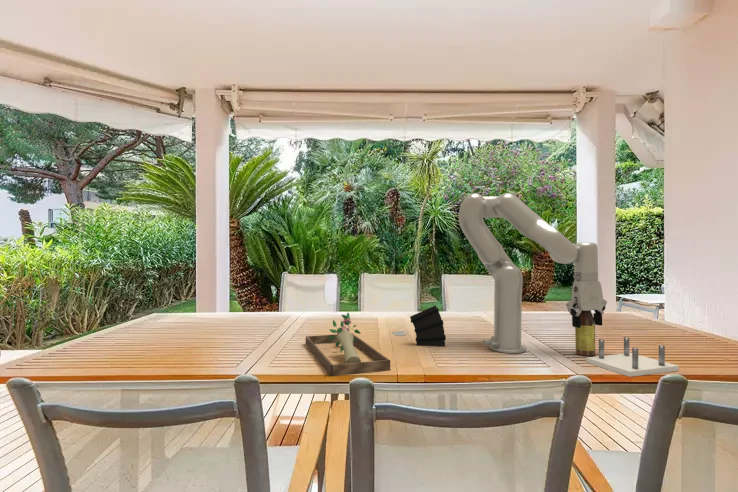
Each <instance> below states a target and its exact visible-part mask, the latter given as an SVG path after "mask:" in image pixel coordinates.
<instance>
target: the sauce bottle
mask: <svg viewBox="0 0 738 492" xmlns="http://www.w3.org/2000/svg"><path fill="white" fill-rule="evenodd" d="M579 316H580V317H581V327H580V328H577V327H574V328H575V329H574V330H575V332H574V334H575V337H574V338H575V352H576V354H577V355H579V356H584V357H594V356H596V355H595V354H596V325H595V321H594V317H593V314H592V310H590V311H583V310H582V311H581V313H580V315H579Z"/></svg>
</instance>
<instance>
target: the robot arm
mask: <svg viewBox="0 0 738 492" xmlns="http://www.w3.org/2000/svg"><path fill="white" fill-rule="evenodd" d="M486 218H487V219H488V218H489V219H492V218H493V219H494V218H495V219H496V218H497V219H499V218H504V219H505V220H506V221H507V222H508V223H509V224H511V226H512V227H514V228H515V229H516V230H517V231H518V232H520V233H521V234H522V235H523V236H524V237H526V238H528V239H529V240H531V241H534V242H535V243H537V244H538V245H539V246H540V247H542V249H544V250H545V251H546V252H548V254H549V256H550V258H551V260H552V261H553V262H555V263H558V264H562V265H569V264H573V267H574V268H573V271H574V274H573V276H572V277H573V279H574V281H573V284H572V290H571V291H572V292H571V300H569V301H568V302H567V303H565V305H566V308H567V311H568V313H569V315H570V316H571V326H572V327H574V328H575V327H577V328H580V327H581V317H580V316H579V315H580V313H581V311H582V310H583V311H590V310H591V311H593V314H592V315H593V318H594V321H595V326H603V314H604V312H605V310H606V306H607V303H608V301H607V300H606V299H604V294H603V288H602V283H601V281H599V251H598V250H599V248H598V245H597V243H595V242H578V243H573V242H572V241H571V240H569V239H568V238H567V237H566V236H565V235H564V234H562V233H561V232H560V231H559V230H557V229H556V228H555V227H554V226H552V225H550V223H548V222H547V221H546V220H545V219H544V218H542V217H541V216H539V215H538V213H536V212H535V211H533V209H531V208H530V207H529V206H528V205H527V204H525V203H524V202H523V201H522V200H521V199H520V198H519V197H518V196H516V195H515V194H513V193H511V192H505V193H502V194H501V195H497V196H496V195H494V196H492V195H491V196H483V195H482V194H480V193H475V192H474V193H473V192H472V193H470V194H468V195H467V196H465V197H464V199H463V200H462V202H461V205H460V207H459V210H458V222H459V223H458V224H459V226H460V229H461V231H462V232H463V234H464V236H465V237H466V239H467V240H468V242H469V244H470V245H471V247H472V248H473V250H474V252H475V253H476V254H477V256H478V259H479V260H480V262H481V263H482V265H483V266H484V267H485V269H486V270H487V272H488V273H489V274H490V275H491V277H492V279H493V280H494V293H493V295H494V296H493V297H494V299H493V300H494V301H493V303H494V304H493V307H494V308H493V309H494V313H493V316H494V317H493V319H494V320H493V328H494V329H493V335H492V336H491V337H490V339H483V340H482V345H483V346H489V349H490V350H492V351H495V352H499V353H503V354H504V353H505V354H520V353H525V352H526V349H527V347H525V346H524V345H523V344H522V316H523V315H522V310H523V309H522V307H523V306H522V304H523V303H522V300H523V298H522V297H523V293H522V292H523V283H524V281H523V277H524V276H523V273H522V270H521V269H520V268H519V267H518V266H517V265H515V263H513V262H512V260H511V258H510V257H509V256H508V254H507V253H506V251H505V250H504V247H503V246H502V244H501V243H500V242H499V241H498V240H497V238H496V237H495V235H493V233H492V232H491V230H490V229H489V227H488V226H487V224H486V223H485V220H484V219H486Z"/></svg>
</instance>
